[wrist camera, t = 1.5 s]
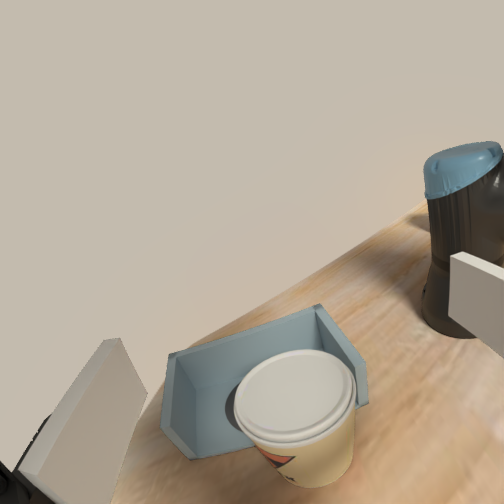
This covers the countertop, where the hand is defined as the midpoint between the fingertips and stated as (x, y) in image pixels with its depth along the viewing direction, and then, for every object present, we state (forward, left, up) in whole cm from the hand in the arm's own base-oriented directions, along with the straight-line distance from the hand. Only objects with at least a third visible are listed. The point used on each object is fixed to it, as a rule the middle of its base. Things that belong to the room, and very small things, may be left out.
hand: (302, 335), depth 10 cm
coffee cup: (+1, -7, -22) cm, 23 cm away
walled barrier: (+4, -17, -22) cm, 28 cm away
